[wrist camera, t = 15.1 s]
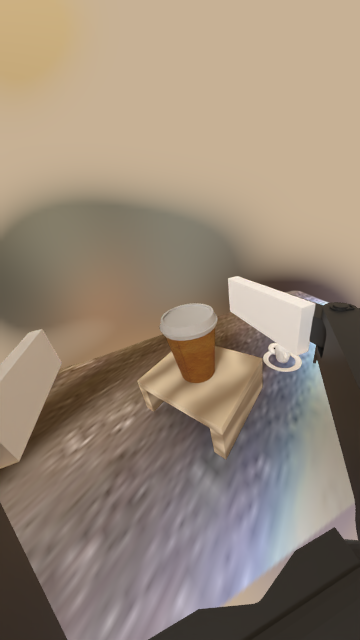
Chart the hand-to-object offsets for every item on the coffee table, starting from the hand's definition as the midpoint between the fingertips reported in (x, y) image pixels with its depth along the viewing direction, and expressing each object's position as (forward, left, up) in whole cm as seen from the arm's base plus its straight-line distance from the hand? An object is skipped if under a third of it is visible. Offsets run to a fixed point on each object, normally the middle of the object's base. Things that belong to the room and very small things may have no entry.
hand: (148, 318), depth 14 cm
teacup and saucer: (+3, +35, -28) cm, 44 cm away
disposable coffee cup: (-8, +13, -20) cm, 25 cm away
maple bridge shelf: (-8, +14, -27) cm, 31 cm away
